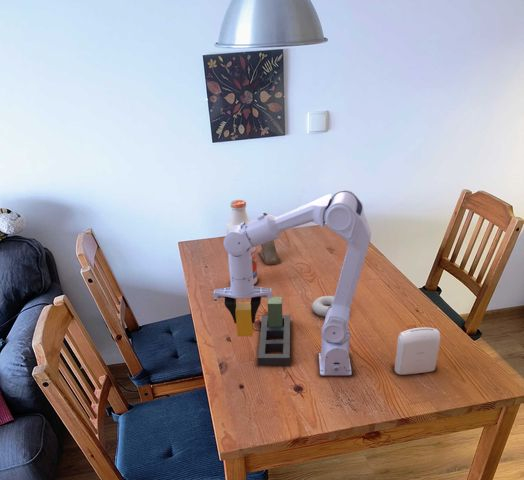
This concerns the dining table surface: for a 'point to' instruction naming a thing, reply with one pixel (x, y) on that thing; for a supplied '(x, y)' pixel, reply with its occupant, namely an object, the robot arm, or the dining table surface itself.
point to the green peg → (275, 312)
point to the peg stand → (274, 343)
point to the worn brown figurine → (269, 252)
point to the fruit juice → (237, 218)
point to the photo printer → (417, 350)
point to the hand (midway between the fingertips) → (244, 321)
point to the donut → (322, 305)
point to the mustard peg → (244, 319)
